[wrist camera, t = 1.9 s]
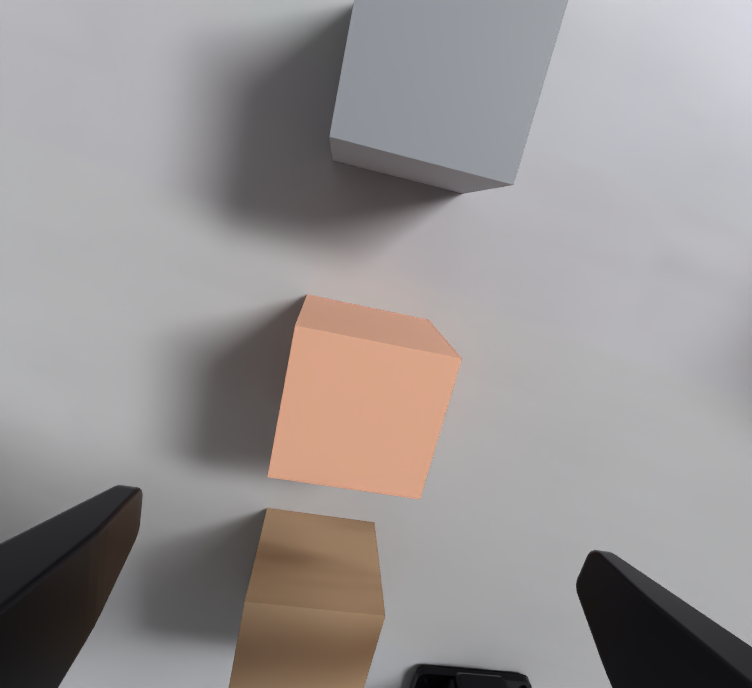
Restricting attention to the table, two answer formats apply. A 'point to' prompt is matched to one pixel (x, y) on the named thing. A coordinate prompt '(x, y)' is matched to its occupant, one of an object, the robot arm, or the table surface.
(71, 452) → the table surface
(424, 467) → the terracotta cube
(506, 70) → the grey cube
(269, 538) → the walnut cube
